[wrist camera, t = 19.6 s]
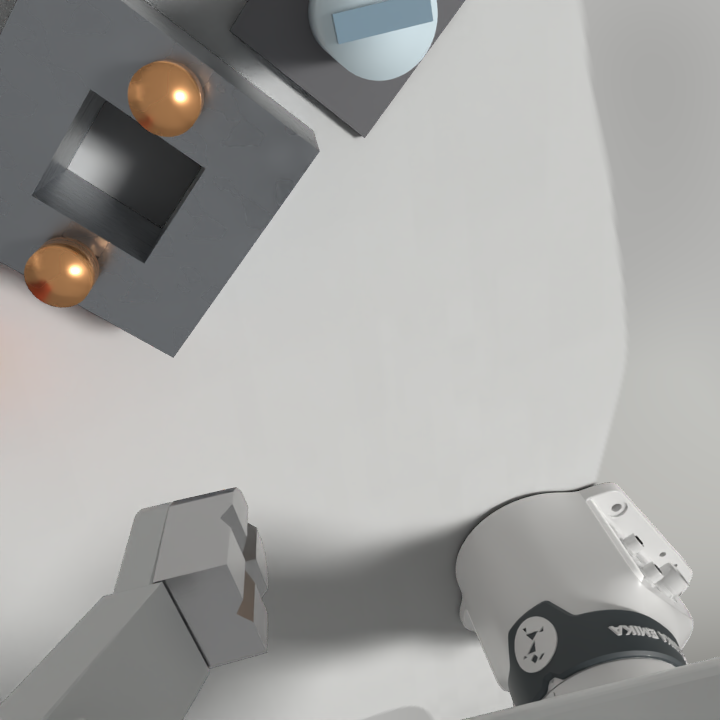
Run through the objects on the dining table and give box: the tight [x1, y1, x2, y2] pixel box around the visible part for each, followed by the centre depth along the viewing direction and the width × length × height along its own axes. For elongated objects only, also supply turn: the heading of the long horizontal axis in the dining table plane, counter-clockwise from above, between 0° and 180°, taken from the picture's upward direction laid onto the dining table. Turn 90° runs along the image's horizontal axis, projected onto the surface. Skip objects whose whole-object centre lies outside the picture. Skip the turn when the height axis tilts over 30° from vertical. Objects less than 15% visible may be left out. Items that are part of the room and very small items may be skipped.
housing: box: [0, 0, 319, 358], centre depth 34 cm, size 14×14×6 cm
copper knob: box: [24, 237, 99, 307], centre depth 33 cm, size 3×3×4 cm
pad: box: [230, 0, 465, 138], centre depth 34 cm, size 9×9×1 cm
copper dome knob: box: [128, 59, 204, 137], centre depth 30 cm, size 3×3×4 cm
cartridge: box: [308, 0, 438, 81], centre depth 29 cm, size 4×4×12 cm
